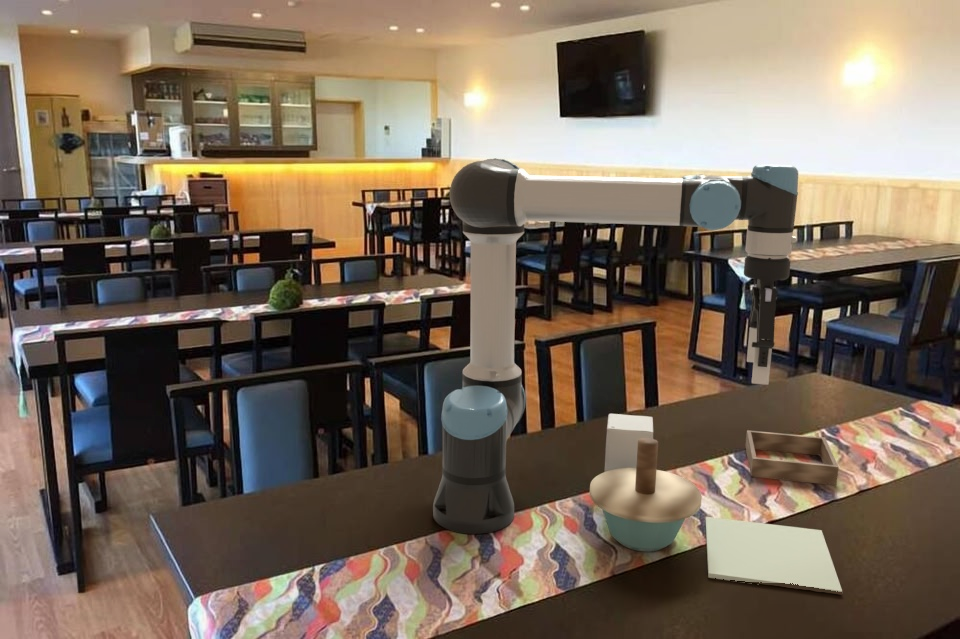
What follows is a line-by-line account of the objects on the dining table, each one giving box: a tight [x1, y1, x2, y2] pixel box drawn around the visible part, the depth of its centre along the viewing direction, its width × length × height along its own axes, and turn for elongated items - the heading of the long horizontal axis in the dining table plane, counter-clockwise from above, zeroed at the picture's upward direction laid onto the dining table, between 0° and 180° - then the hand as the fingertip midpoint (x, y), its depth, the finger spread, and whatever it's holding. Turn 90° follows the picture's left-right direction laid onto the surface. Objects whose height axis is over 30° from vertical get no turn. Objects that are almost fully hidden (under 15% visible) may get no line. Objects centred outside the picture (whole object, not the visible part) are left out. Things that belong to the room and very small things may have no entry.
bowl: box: [602, 509, 686, 553], centre depth 140 cm, size 16×16×8 cm
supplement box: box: [604, 413, 654, 472], centre depth 157 cm, size 9×9×15 cm
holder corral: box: [744, 429, 839, 486], centre depth 172 cm, size 17×17×4 cm
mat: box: [705, 516, 843, 593], centre depth 136 cm, size 20×20×1 cm
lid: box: [589, 438, 703, 523], centre depth 138 cm, size 19×19×10 cm
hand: (757, 372), depth 143 cm, fingers open, 13 cm apart
